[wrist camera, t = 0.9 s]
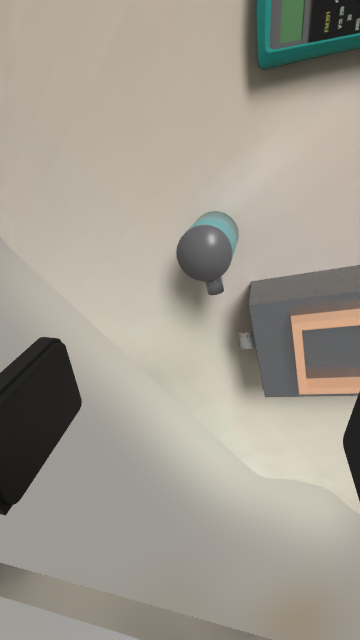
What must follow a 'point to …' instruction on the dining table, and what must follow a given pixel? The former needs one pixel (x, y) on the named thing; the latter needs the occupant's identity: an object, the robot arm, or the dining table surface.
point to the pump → (208, 249)
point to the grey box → (307, 333)
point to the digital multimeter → (305, 29)
